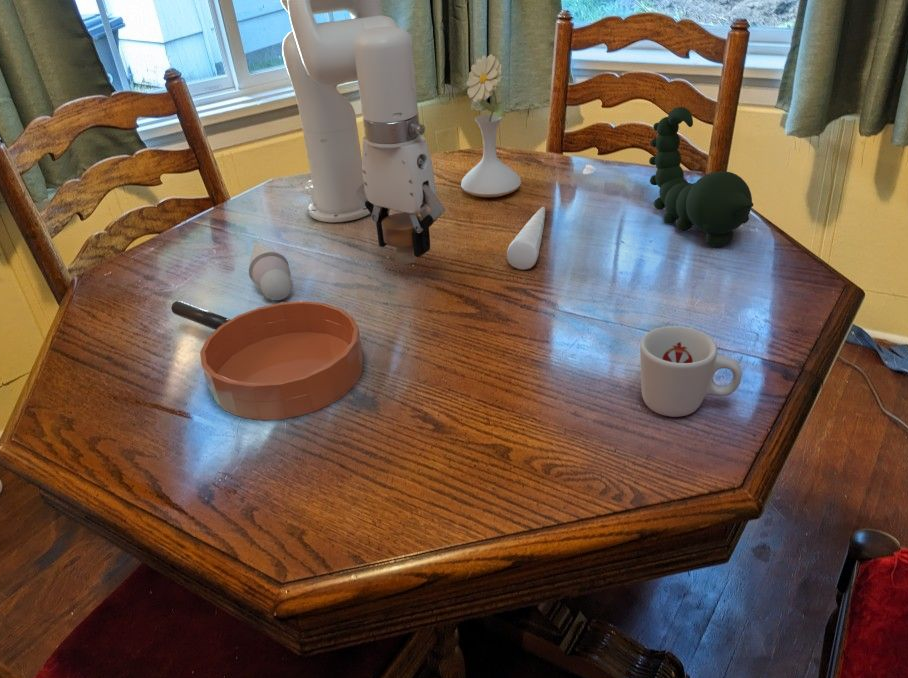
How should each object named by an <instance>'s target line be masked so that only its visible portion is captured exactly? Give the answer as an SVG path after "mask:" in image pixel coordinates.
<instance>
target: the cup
mask: <svg viewBox="0 0 908 678" xmlns="http://www.w3.org/2000/svg"><path fill="white" fill-rule="evenodd" d="M639 350H640V391H641V397H642V400H643V402H644V404H645V405H646V406H647V408H649V409H650V410H651V411H653V412H654V413H656V414H658V415H662V416H665V417H674V418H677V417H678V418H679V417H684V416H688V415H690V414H693V413H694V412H696V411H697V410H698V409H699V408H700V406H701V405H702V403H703V401H704V399H705V398H706V397H707V396H716V397H717V396H718V397H726V396H729V395H732V394H733V393H735V391H736V390H737V389H738V388H739V386H740V384H741V380H742V367H741V365H740V364H739V362H738V361H737V360H736V359H734V358H732V357H729V356H725V355H722V354H719V353H718V346H717V343H716V341H715V340H714V339H713V338H712V337H711V336H710V335H708V334H707V333H706V332H703V331H702V330H699V329H697V328H694V327H689V326H684V325H683V326H682V325H665V326H659V327H656V328H653V329H651V330H649V331H648V332H646V333H645V334H644V335H643V337H642V338H641V340H640V344H639ZM721 369H727V370H729V371H731V373H732V379H731V381H730V382H729V383H728V384H726V385H719V384H717V383H715V381H714V376H715V374H716V373H717V371H719V370H721Z"/></svg>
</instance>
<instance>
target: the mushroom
mask: <svg viewBox="0 0 908 678" xmlns="http://www.w3.org/2000/svg"><path fill="white" fill-rule="evenodd" d="M418 216H419V218H420V221H422V217H421V215H420V214H418ZM382 231H383V240H384V242H385V243H386V244H387V245H386V246H390V247H392V248H393V254H394V260H395V262H396V264H400V265H409V264H412V263H414V262H416V260H417V257H415V255H414V249H413V239H412V232H414V231H415V228H414V226H413V223H412V221H411V219H410V216H409V214H408V213H405V212H396V213H393V214H389V216H387V217H385V218H384V219H383V220H382Z"/></svg>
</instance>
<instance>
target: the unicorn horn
mask: <svg viewBox="0 0 908 678" xmlns="http://www.w3.org/2000/svg"><path fill="white" fill-rule="evenodd" d="M545 219H546V207H545V206H541V207H540V208H539V209H538V210H537V211H536V212H535V213H534V214H533V215H532V216H531V218H530V219H529V220H528V221H527V222H526V223H525V225H524V226H523V228H522V229H521V230H520V231H519V233H517V235H516V236H515V237H514V239H512V241H511V242H510V243H509V245H508V247H507V250H506V260H507V261H508V264H509V265H510V266H512V267H513V268H514V269H517V270H523V271H526V270H529V269H532V268H533V267H534V266H535V265H536V263H537V260H538V258H539V255H540V247H541V244H542V240H543V239H542V238H543V233H544V226H545Z"/></svg>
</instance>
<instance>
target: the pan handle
mask: <svg viewBox="0 0 908 678" xmlns="http://www.w3.org/2000/svg"><path fill="white" fill-rule="evenodd" d="M170 308H171V309H170V310H171V313H173V314H174V315H176V316H178V317H180V318H183V319H186V320H187V321H188V320H189V321H191V322H194V323H196V324H199V325H202V326H204V327H207V328H209V329H212V330H214V331H215V330H216V329H217V328H218V327H220V326H221V325H223V324H224V323H226V322H228V321H230V320H231V319H232V318H228V317H226V316H223V315H220V314H217V313H214V312H211V311H209V310H207V309H204V308H201V307H198V306H195V305H193V304H190V303H187V302H184V301H182V300H176V301H174V302H173V303H172V304H171V307H170Z"/></svg>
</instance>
